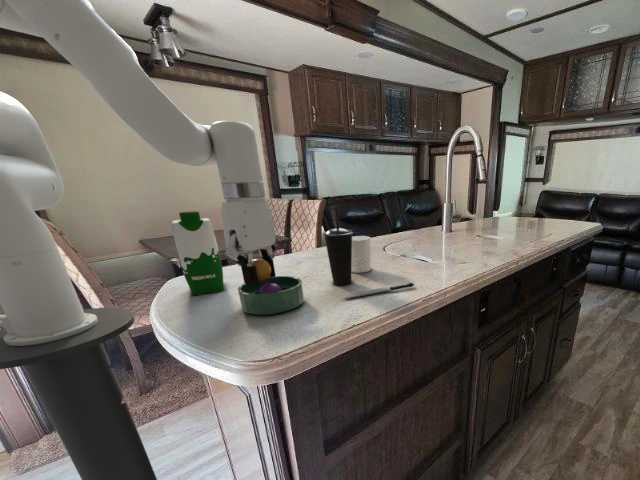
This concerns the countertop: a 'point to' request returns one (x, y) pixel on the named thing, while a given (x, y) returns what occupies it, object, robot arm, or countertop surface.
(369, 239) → the white cup
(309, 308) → the countertop surface
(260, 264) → the ochre ball
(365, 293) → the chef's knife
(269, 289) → the plum ball
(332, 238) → the drinking cup
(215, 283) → the milk carton
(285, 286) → the bowl
